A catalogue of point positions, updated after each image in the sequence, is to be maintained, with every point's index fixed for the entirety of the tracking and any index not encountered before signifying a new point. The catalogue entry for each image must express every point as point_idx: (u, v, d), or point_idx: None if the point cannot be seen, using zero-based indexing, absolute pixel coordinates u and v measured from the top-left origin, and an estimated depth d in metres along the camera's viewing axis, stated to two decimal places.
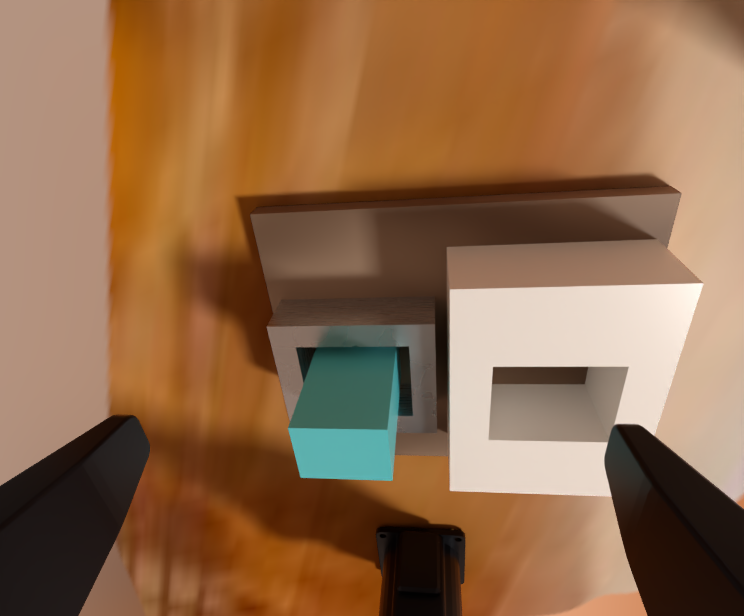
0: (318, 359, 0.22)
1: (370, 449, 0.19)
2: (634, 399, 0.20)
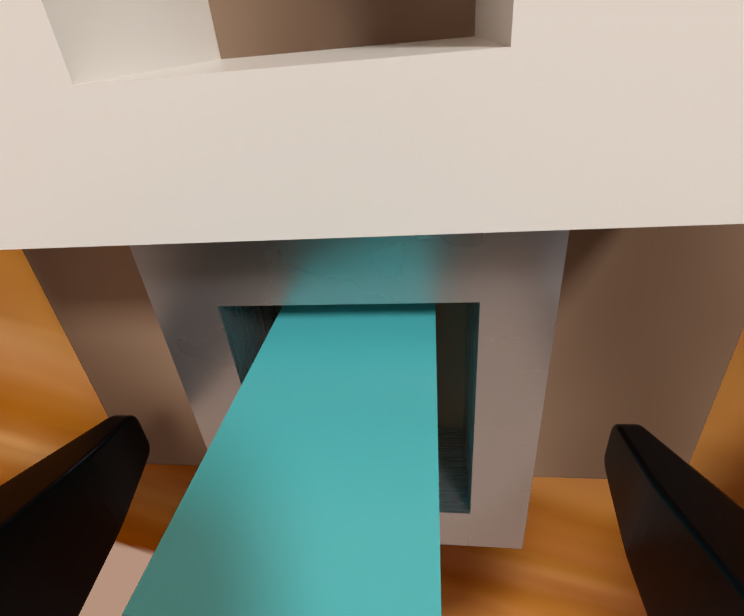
0: None
1: None
2: None
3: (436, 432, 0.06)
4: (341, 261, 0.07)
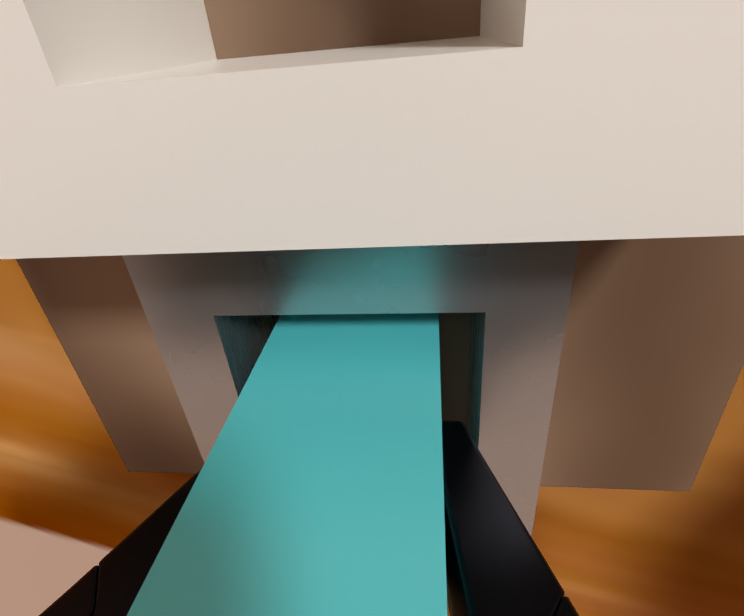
0: None
1: None
2: None
3: (441, 451, 0.06)
4: (341, 270, 0.07)
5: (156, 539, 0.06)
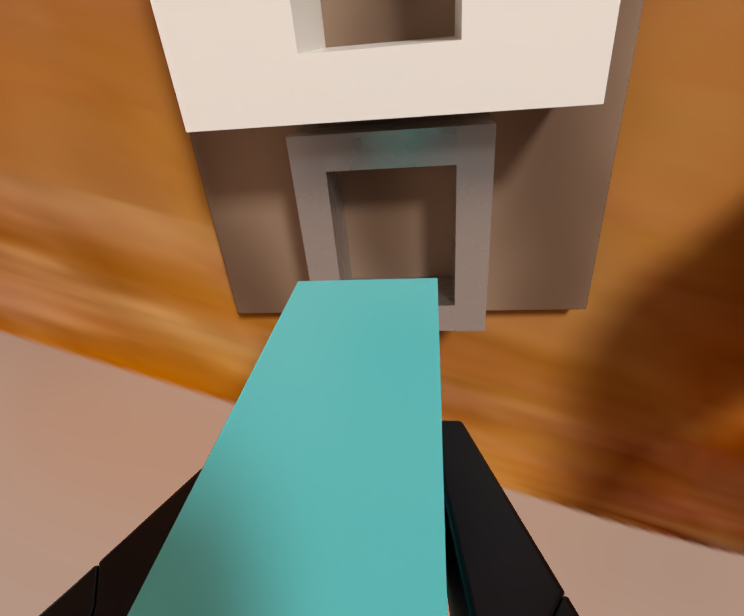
0: None
1: None
2: None
3: (441, 451, 0.06)
4: (390, 144, 0.15)
5: (156, 539, 0.06)
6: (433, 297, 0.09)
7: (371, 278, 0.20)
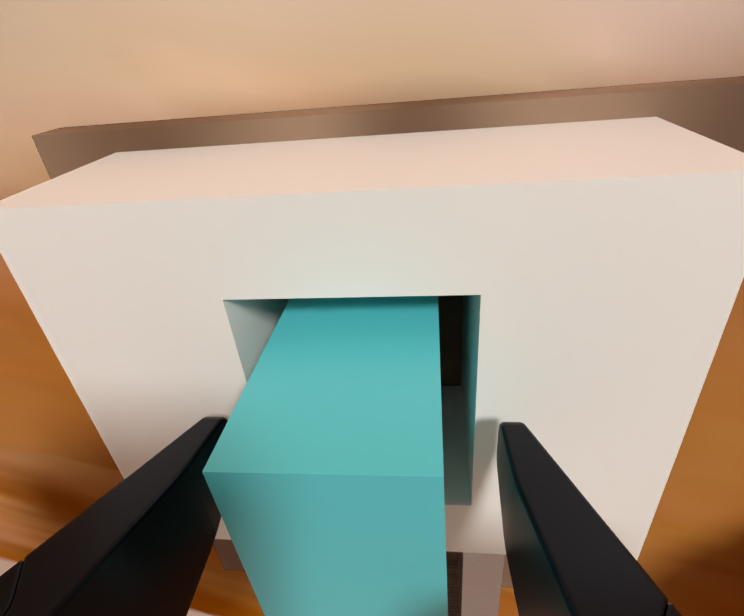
0: None
1: (298, 512, 0.06)
2: (318, 268, 0.08)
3: (438, 352, 0.07)
4: None
5: (83, 535, 0.06)
6: None
7: None
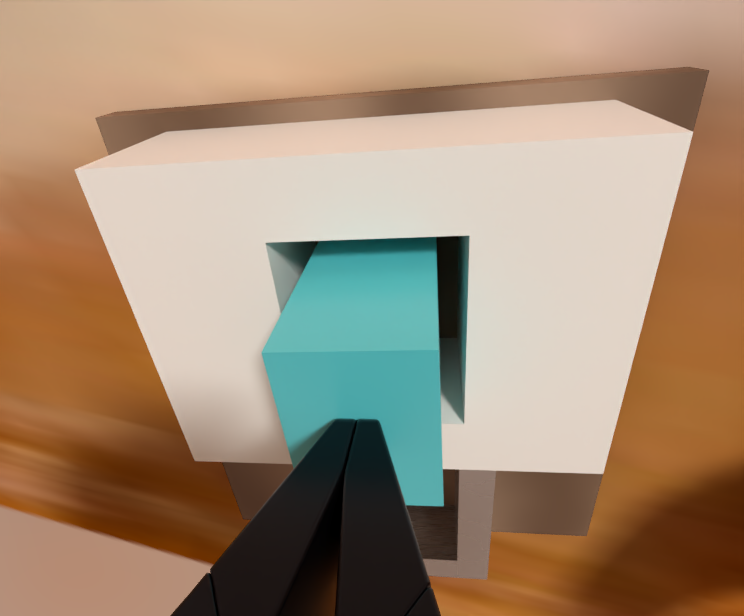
0: None
1: (330, 386, 0.08)
2: (342, 215, 0.10)
3: (436, 280, 0.09)
4: None
5: (264, 545, 0.06)
6: None
7: None
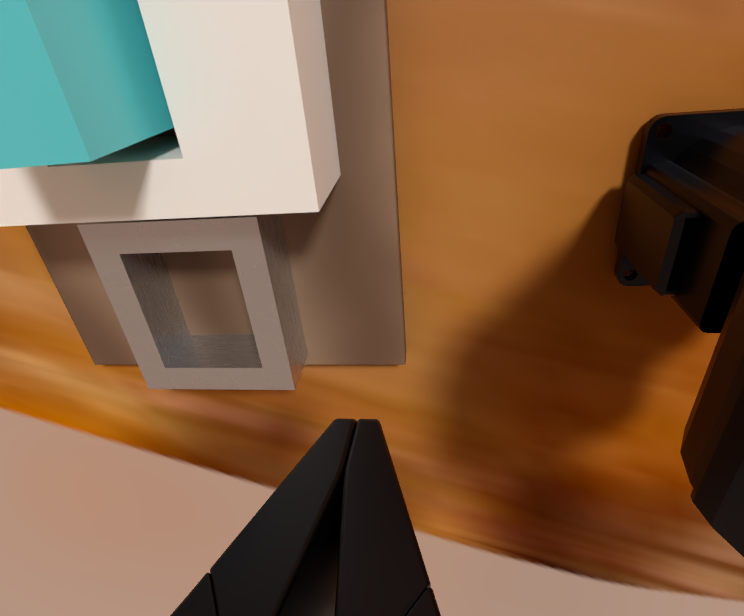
0: None
1: None
2: None
3: None
4: (169, 232, 0.16)
5: (264, 545, 0.06)
6: None
7: (206, 336, 0.22)
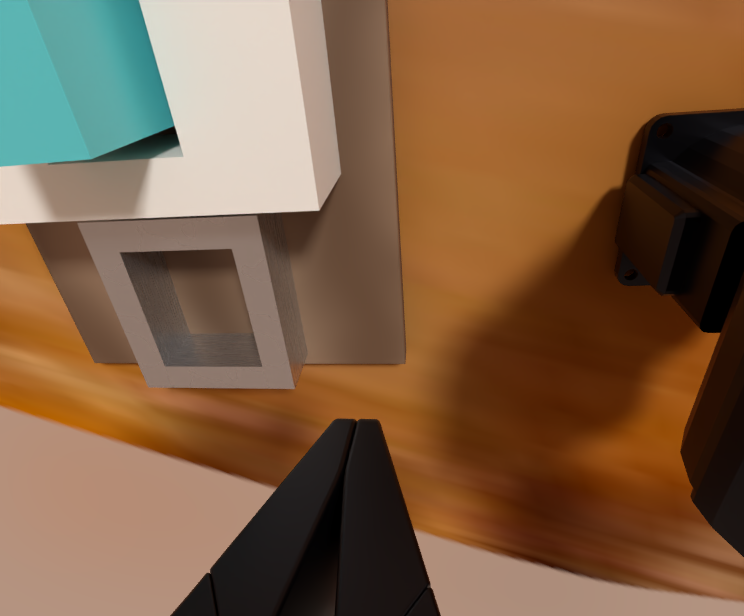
0: None
1: None
2: None
3: None
4: (169, 230, 0.16)
5: (264, 545, 0.06)
6: None
7: (206, 334, 0.22)
